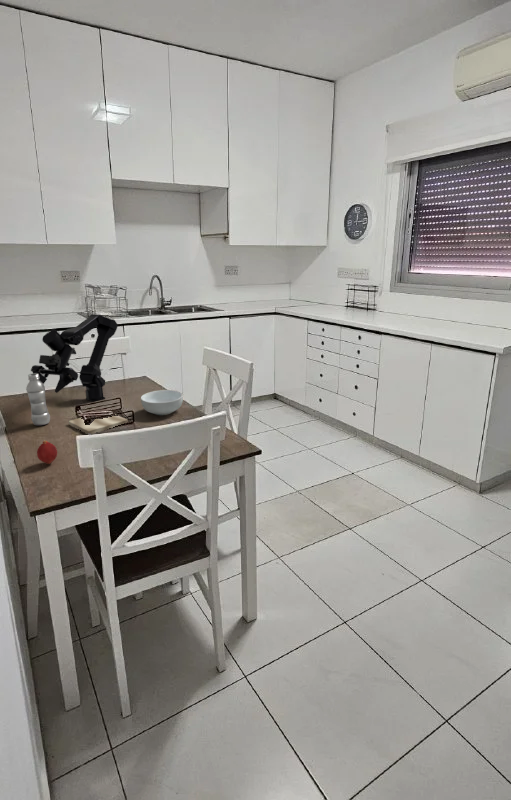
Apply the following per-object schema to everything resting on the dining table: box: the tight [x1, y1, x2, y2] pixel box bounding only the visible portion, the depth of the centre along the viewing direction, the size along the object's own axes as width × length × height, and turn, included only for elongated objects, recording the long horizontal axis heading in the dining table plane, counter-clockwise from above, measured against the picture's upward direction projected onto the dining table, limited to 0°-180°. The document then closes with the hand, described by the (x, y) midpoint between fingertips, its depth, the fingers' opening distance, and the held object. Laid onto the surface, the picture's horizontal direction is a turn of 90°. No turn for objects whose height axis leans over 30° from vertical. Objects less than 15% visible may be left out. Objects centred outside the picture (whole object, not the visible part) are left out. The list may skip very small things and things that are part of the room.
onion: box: [36, 440, 58, 465], centre depth 145 cm, size 6×6×8 cm
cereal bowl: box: [140, 389, 184, 416], centre depth 191 cm, size 17×17×7 cm
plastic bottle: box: [25, 372, 51, 426], centre depth 177 cm, size 6×7×20 cm
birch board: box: [68, 415, 129, 435], centre depth 179 cm, size 16×16×2 cm
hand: (46, 391), depth 181 cm, fingers open, 9 cm apart
